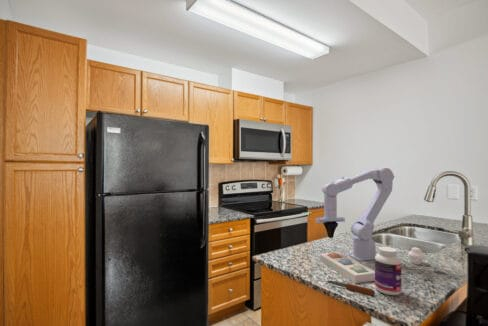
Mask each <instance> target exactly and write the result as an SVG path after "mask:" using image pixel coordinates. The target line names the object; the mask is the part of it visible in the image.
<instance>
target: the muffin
mask: <svg viewBox="0 0 488 326" xmlns="http://www.w3.org/2000/svg"><path fill="white" fill-rule="evenodd" d="M407 255H408V257H409V259H410V261H411V263H412V264H414V265H421V264H422V262H423V261H424V259H425V257H426V256H425V255H424V253H423V252H422V250H421V248H418V247H416V246H415V247H411V250H409V251H408V253H407Z"/></svg>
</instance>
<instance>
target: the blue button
mask: <svg viewBox="0 0 488 326" xmlns="http://www.w3.org/2000/svg"><path fill="white" fill-rule="evenodd" d="M340 263H341V264H343V265H352V261H351V260H348V259H341V260H340Z"/></svg>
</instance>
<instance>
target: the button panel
mask: <svg viewBox="0 0 488 326" xmlns="http://www.w3.org/2000/svg"><path fill="white" fill-rule="evenodd" d="M330 253H331V252H327V253H319V261H321V262H322V263H323V264H324V265H326V266H327V267H329V268H331V269H333V270H334V271H335V272H337V273H339V274H341V275H342V276H343V277H345V278H347V279H348V280H349V281H352V282H353V283H354V284H358V283H364V282H373V281H374V282H375V269H374V270H373V269H372V268H369V267H368V266H366V265H364V264H361V263H360V262H358V261H356V260H354V259H353V258H352V257H351V258H350V257H349V256H347V255H345V254H343V253H341V252H339V251H338V252H336V251H335V253H337V254H339V255H340V258H334V259H333V258H331V257H329V254H330ZM341 259H348V260H351V261H352V265H343V264H341V263H340V260H341ZM353 266H361V267H364V268H365V272H364V273H357V272H355V271H353Z"/></svg>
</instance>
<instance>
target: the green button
mask: <svg viewBox="0 0 488 326" xmlns="http://www.w3.org/2000/svg"><path fill="white" fill-rule="evenodd" d="M353 271H355V272H357V273H364V272H365V268H364V267H361V266H353Z"/></svg>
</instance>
